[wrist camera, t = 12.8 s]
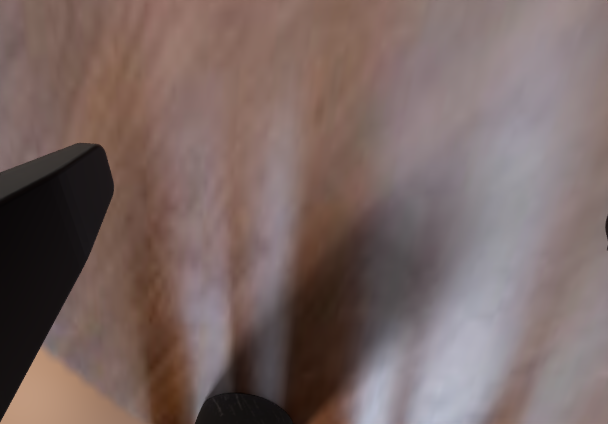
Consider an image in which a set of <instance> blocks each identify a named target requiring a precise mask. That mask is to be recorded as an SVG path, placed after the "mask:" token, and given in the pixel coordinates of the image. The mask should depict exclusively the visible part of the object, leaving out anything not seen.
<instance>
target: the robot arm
mask: <svg viewBox="0 0 608 424" xmlns="http://www.w3.org/2000/svg"><path fill="white" fill-rule="evenodd" d="M113 192H114V183H113V178H112V175H111V171H110V167H109V163H108V160H107V156H106V153H105V150H104V148H103V147H102V146H100V145H99V144H90V143H77V144H74V145H72V146H69V147H66V148H64V149H61V150H58V151H56V152H53V153H50V154H48V155H45V156H43V157H40V158H37V159H35V160H32V161H29V162H27V163H24V164H22V165H19V166H16V167H14V168H11V169H8V170H6V171H3V172H0V422H1V420H2V418H3V416H4V414H5V412H6V411H7V409H8V407H9V405H10V403H11V401H12V399H13V398H14V396H15V394H16V392H17V390H18V388H19V386H20V384H21V383H22V381H23V379H24V377H25V375H26V373H27V372H28V370H29V368H30V366H31V364H32V362H33V360H34V359H35V357H36V355H37V353H38V351H39V349H40V347H41V345H42V344H43V342H44V340H45V338H46V336H47V334H48V332H49V331H50V329H51V327H52V325H53V323H54V321H55V319H56V318H57V316H58V314H59V312H60V310H61V308H62V306H63V305H64V303H65V301H66V299H67V297H68V295H69V293H70V292H71V290H72V288H73V286H74V284H75V282H76V280H77V279H78V277H79V275H80V273H81V271H82V269H83V267H84V265H85V263H86V261H87V259H88V257H89V254H90V252H91V250H92V247H93V245H94V242H95V240H96V237H97V235H98V232H99V229H100V227H101V224H102V222H103V219H104V217H105V214H106V212H107V209H108V207H109V204H110V201H111V199H112V196H113ZM605 228H606V235H607V239H608V216H607V219H606V225H605ZM607 250H608V247H607Z"/></svg>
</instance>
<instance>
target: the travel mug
mask: <svg viewBox="0 0 608 424" xmlns="http://www.w3.org/2000/svg"><path fill="white" fill-rule="evenodd" d="M195 424H293V422H292V420H291V418H290V417H289V416H288V414H287V413H286V412H285V411H284V410H283V409H281V408H280V407H279V406H277V405H275V404H274V403H272V402H270V401H268V400H265V399H263V398H260V397H256V396H253V395H248V394H239V393H229V394H222V395H218V396H215V397H213V398H210V399H209V400H208V401H206V402H205V403H204V405H203V406H202V408H201V410H200V412H199V414H198V417H197V420H196V422H195Z"/></svg>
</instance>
